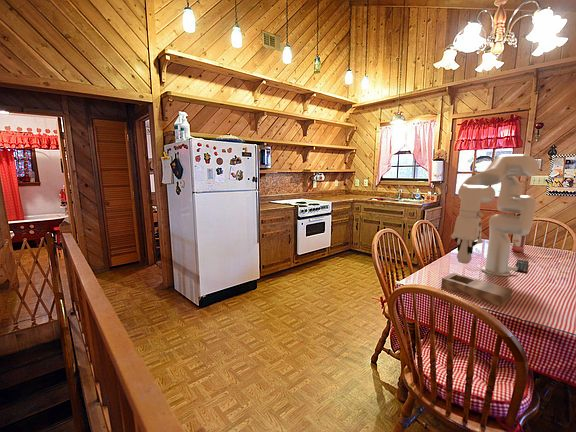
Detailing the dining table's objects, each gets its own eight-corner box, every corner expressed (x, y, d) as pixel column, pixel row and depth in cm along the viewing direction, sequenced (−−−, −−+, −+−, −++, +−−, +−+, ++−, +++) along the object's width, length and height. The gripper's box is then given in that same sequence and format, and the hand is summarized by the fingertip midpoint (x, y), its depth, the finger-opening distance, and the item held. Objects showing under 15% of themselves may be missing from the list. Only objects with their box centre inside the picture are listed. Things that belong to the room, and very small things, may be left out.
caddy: (511, 299, 125) (512, 289, 124) (501, 306, 118) (502, 296, 117) (452, 281, 144) (453, 272, 143) (441, 287, 137) (442, 278, 136)
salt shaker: (453, 260, 136) (456, 233, 134) (464, 260, 136) (468, 233, 134) (461, 264, 130) (465, 236, 128) (473, 264, 131) (477, 236, 128)
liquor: (527, 253, 191) (533, 211, 186) (516, 253, 191) (522, 211, 186) (518, 250, 198) (524, 209, 193) (507, 250, 198) (513, 209, 193)
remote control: (528, 263, 173) (528, 261, 173) (526, 274, 155) (527, 272, 155) (517, 261, 176) (517, 259, 176) (514, 272, 158) (514, 269, 158)
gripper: (493, 216, 125) (488, 256, 128) (453, 211, 138) (449, 248, 141) (486, 217, 121) (481, 260, 124) (446, 212, 134) (442, 251, 137)
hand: (464, 253), depth 132 cm, fingers closed on salt shaker, 3 cm apart
